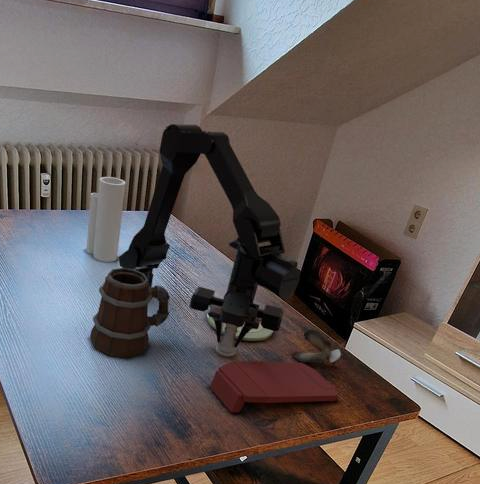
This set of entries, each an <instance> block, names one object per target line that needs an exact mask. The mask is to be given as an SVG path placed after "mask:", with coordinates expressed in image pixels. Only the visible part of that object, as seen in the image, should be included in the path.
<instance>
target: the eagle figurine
mask: <svg viewBox="0 0 480 484" xmlns="http://www.w3.org/2000/svg"><path fill="white" fill-rule="evenodd" d="M303 337H304V339H305V340H306V341H307V342H308V343H309V344H310V345H311V346H312V347H314V348H315V349H317V350H319V352H318V351H317V352H316V351H315V352H313V351H311V352H309V351H308V352H299V353H296V354H295V355H294V358H295V359H296V360H297V361H299V363H304V364H305V363H316V364H323V363H324V362H325V361H326V360H327V361H329V362H330V363H331V367H332V368H336V367H335V366H336V363H340V360H339V359H340V358H341V357H342V356H344V353H342V351H343V348H344V345H345V343H341V344H340V346H339V347H338V348H336V349H333V345H332V342H331V341H330V340H328V339H326V338H325V336H323V334H322V332H321V331H319V330H316V329H312V328H309V329H307V330H305V331H304V332H303ZM332 349H333V350H332Z"/></svg>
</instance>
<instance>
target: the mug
mask: <svg viewBox="0 0 480 484" xmlns="http://www.w3.org/2000/svg"><path fill="white" fill-rule="evenodd" d="M98 292H99V294H100V296H101V298H100V301H99V307H98V311H97V313H96V314H95V315H94V316H92V321H93V323H94V325H93V327H92V328H91V331H90V336H89V337H90V341H91V343H92V345H93V348H94V349H96V350H98V351H100V352H102V353H103V354H104V355H106V356H109V357H116V358H124V359H125V358H126V359H129V358H132V357H136V356H140V355H143V354H144V352H145V350H146V349H147V348H148V346H149V340H150V338H149V334H148V332H149V330H150V329H151V327H153V326H155V327H159V326H161V325H162V324H163V323H165V322H166V320H167V319H168V318H169V315H170V311H169V300H170V299H171V297H170V294H169V292H168V291H167V289H166V288H165V287H163V286H162V285H158V284H156V285H154V286H153V287H150V286H149V283H148V279H147V278H146V276H145V275H144V274H143V273H141V272H139V271H136V270H134V269H127V268H122V267H119V268H112V269H111V270H110V271H109V272H108V273H107V275H106V276H105V279H104V281H103V284H102V285H101V286H100V287H99V288H98ZM153 298H155V299H156V300H157V301H158V309H157V310H156V313H154V314H153V313H152V315H151V316H149V315H148V311H149V303H150V302H151V301H152V299H153Z"/></svg>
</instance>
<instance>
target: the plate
mask: <svg viewBox="0 0 480 484" xmlns="http://www.w3.org/2000/svg"><path fill="white" fill-rule="evenodd" d="M206 316H207V317H206V319H207V320H206V321H207V322H208V324H209V325H210V326H211V327H212V328H213V329H214V330H216V326H215V322H214V320H213V318H212V317H209V316H208V314H206ZM260 323H261V322H260ZM225 327H226V324H225V323H223V330H222V335H224V332H225ZM241 328H242V327H238V328H237V333H236V335H235V340H237V337H238V335H239V333H240V330H241ZM273 333H274V331H272V330H269V329H265V328H263V327H262V326H261V324H259V327H258V329H251V330H250V331H249V332H248V333H247V334H246V335H245V336H244V338H243V339H242V340H241V341H249V342H251V341H252V342H254V341H255V342H256V341H263V340H266V339H268V338H270V337H271V336H272V335H273Z"/></svg>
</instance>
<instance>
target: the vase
mask: <svg viewBox="0 0 480 484" xmlns="http://www.w3.org/2000/svg"><path fill="white" fill-rule="evenodd" d="M125 191H126V181H125V180H124V179H122V178H121V179H120V178H118V177H113V176H102V177H99V182H98V192H91V193H90V198H89V199H90V201H89V211H88V212H89V214H88V225H87V226H88V227H87V238H86V250H85V251H86V253H87V254H89V255H92V257H93V258H94V259H95V260H98V261H100V262H104V263H111V262H116V261H117V260H118V253H119V244H120V237H121V236H120V235H121V228H122V226H121V225H122V218H123V209H124V201H125V193H126V192H125Z"/></svg>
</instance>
